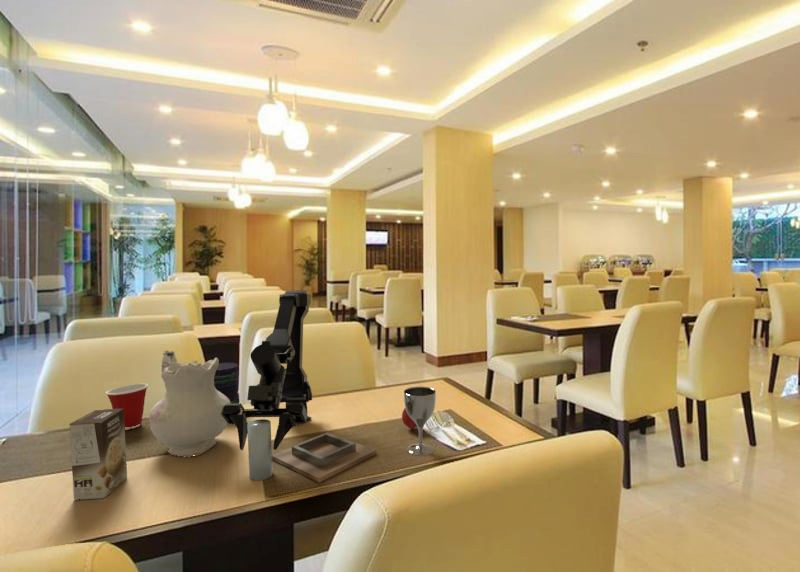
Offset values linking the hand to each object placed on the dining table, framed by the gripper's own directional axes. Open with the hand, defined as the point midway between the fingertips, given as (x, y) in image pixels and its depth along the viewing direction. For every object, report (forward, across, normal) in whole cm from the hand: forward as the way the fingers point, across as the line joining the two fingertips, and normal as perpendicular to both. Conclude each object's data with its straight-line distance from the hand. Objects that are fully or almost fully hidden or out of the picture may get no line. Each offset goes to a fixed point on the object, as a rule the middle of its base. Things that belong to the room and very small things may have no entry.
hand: (257, 449), depth 100 cm
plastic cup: (-18, -49, +27) cm, 59 cm away
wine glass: (-5, +36, +15) cm, 40 cm away
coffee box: (+7, -33, +2) cm, 34 cm away
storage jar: (-26, -26, +36) cm, 51 cm away
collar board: (-3, +13, +12) cm, 18 cm away
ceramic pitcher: (-8, -24, +17) cm, 31 cm away
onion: (-14, +35, +24) cm, 45 cm away
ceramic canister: (+4, 0, +6) cm, 7 cm away
